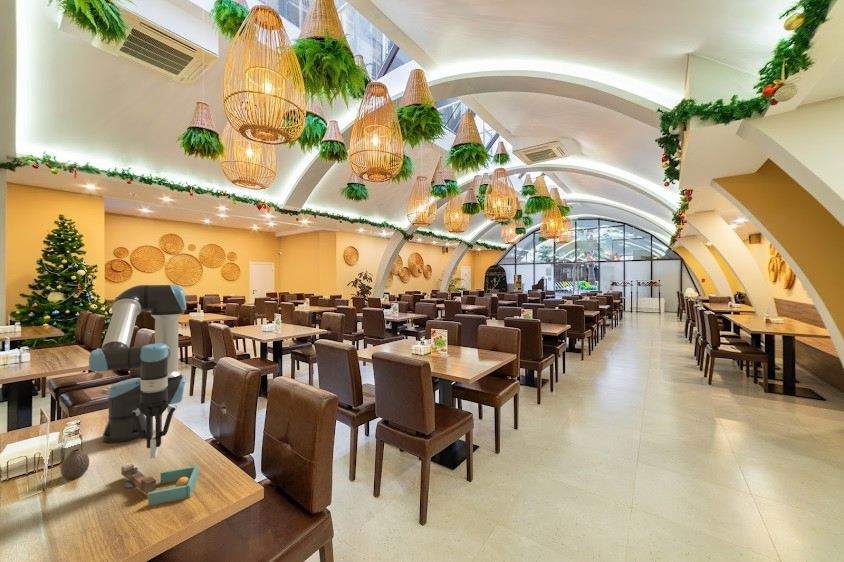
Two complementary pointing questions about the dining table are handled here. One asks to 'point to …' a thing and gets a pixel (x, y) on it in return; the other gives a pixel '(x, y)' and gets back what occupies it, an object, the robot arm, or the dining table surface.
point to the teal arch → (174, 492)
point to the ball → (182, 481)
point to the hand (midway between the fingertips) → (154, 456)
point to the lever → (138, 478)
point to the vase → (75, 464)
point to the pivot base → (129, 485)
